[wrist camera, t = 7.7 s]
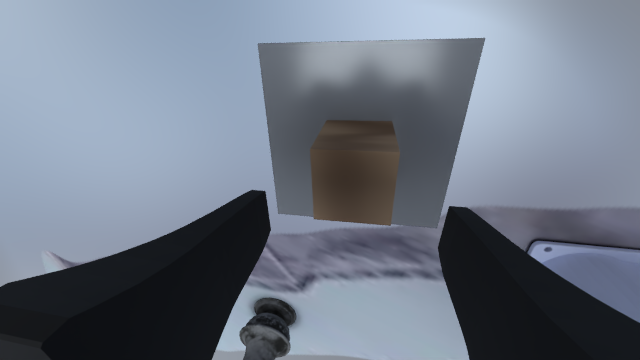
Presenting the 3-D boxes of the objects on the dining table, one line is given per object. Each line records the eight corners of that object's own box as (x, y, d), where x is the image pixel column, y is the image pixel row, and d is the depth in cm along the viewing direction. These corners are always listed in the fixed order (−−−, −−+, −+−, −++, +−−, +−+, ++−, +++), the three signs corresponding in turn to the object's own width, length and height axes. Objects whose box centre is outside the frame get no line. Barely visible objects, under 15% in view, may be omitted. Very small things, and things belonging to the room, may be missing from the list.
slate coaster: (468, 38, 15) (485, 38, 13) (430, 208, 20) (437, 228, 18) (272, 43, 17) (257, 43, 15) (287, 197, 22) (278, 213, 20)
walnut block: (392, 121, 15) (399, 152, 11) (386, 179, 17) (390, 225, 13) (326, 120, 16) (310, 149, 12) (327, 176, 18) (313, 219, 14)
